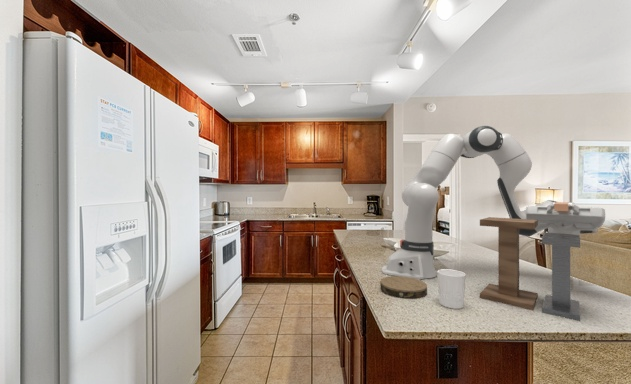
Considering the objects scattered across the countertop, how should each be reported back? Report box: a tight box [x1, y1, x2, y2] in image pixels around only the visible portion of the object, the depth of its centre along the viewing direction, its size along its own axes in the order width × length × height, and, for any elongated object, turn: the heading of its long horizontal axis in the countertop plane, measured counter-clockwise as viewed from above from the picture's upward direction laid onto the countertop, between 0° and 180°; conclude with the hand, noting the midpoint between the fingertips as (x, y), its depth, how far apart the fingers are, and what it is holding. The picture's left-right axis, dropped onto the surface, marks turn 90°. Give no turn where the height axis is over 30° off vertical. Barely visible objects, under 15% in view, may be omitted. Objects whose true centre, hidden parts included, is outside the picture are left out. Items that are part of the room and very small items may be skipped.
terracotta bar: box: [554, 201, 569, 211], centre depth 86 cm, size 22×3×2 cm, turn 137°
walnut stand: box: [479, 216, 539, 311], centre depth 91 cm, size 14×14×26 cm
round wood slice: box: [379, 275, 428, 300], centre depth 98 cm, size 16×16×3 cm
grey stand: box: [541, 231, 581, 322], centre depth 82 cm, size 14×8×22 cm, turn 137°
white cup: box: [436, 268, 467, 310], centre depth 85 cm, size 8×8×10 cm
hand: (562, 204), depth 90 cm, fingers closed on terracotta bar, 3 cm apart
